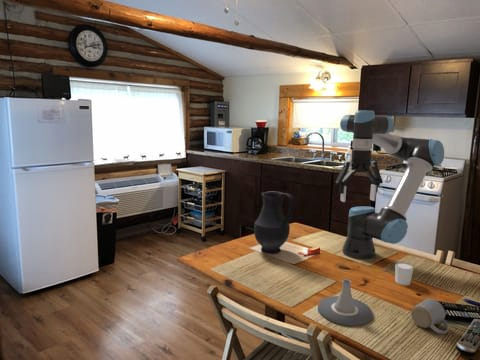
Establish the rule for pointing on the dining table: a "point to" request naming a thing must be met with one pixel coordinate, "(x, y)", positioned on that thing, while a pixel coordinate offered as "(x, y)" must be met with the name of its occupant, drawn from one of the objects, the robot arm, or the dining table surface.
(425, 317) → the ceramic mug
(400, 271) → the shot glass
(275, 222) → the pitcher
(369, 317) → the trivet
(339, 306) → the flask
